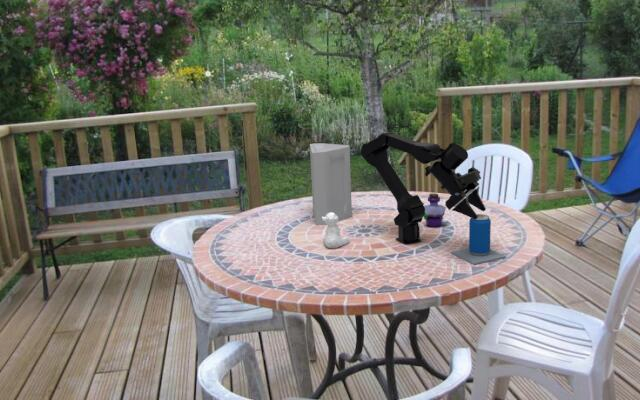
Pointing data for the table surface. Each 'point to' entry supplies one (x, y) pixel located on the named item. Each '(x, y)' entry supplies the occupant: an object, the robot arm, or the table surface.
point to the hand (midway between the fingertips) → (480, 214)
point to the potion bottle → (434, 212)
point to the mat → (477, 256)
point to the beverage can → (479, 235)
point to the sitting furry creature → (333, 232)
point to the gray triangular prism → (330, 181)
